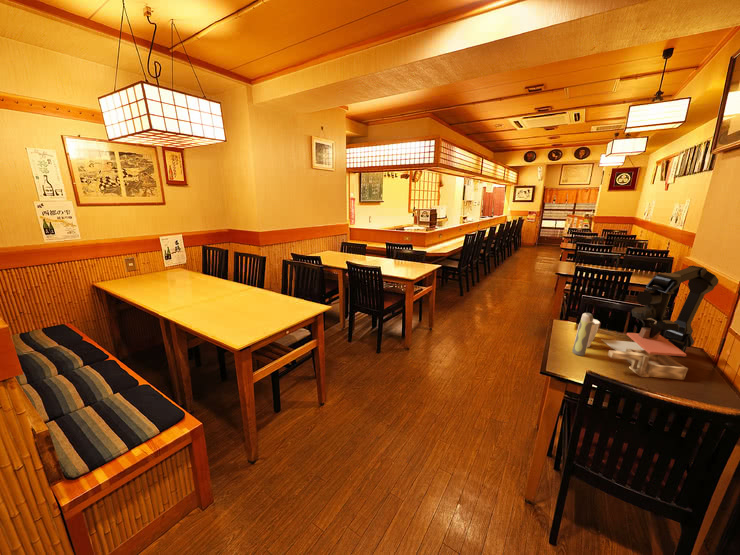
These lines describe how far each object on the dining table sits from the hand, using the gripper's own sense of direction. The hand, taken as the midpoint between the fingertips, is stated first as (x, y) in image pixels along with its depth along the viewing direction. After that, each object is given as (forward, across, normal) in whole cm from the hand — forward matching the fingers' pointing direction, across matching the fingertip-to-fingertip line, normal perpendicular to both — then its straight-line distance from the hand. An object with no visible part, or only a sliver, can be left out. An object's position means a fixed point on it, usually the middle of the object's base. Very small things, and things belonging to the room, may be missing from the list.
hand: (648, 336), depth 135 cm
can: (+12, -11, -19) cm, 25 cm away
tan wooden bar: (+5, +12, -16) cm, 20 cm away
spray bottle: (+12, -1, -27) cm, 29 cm away
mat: (+12, -10, +2) cm, 15 cm away
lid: (+2, +4, 0) cm, 5 cm away
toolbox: (+12, +8, -2) cm, 14 cm away
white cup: (+12, -19, -13) cm, 26 cm away
